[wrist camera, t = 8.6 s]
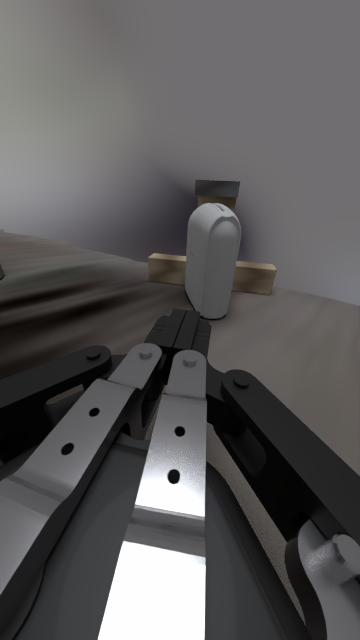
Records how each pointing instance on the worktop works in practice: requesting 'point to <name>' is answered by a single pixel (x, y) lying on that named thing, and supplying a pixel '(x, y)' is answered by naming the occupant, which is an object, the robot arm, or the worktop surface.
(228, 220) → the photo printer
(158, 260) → the retention stand
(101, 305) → the worktop surface
